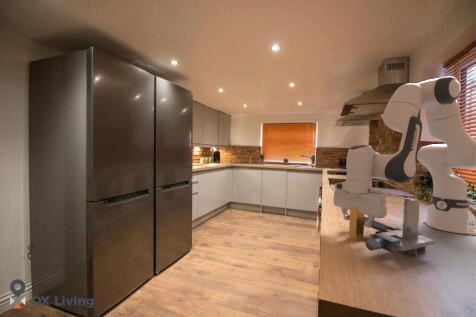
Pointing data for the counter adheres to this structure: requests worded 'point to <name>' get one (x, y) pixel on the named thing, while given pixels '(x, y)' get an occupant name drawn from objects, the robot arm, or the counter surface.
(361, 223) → the orange wooden block
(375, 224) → the zipper pull
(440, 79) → the robot arm
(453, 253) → the counter surface
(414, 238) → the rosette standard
